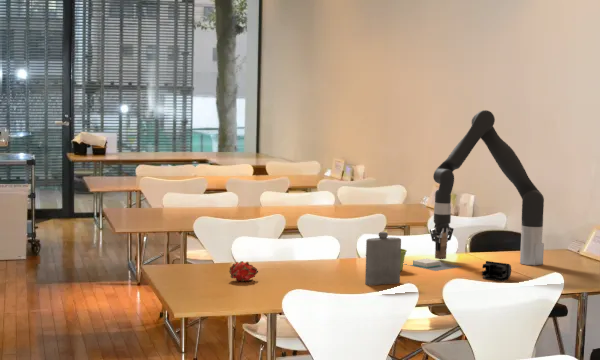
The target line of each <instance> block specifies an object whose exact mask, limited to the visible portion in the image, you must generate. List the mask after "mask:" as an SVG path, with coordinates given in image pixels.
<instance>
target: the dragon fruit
mask: <svg viewBox="0 0 600 360" xmlns="http://www.w3.org/2000/svg"><path fill="white" fill-rule="evenodd" d="M228 272H229V275H230V278H231V279H235V281H236V282H244V281H245V282H246V281H247V282H252V281H254V279H253V278H255V277H256V275H257V274H258V273H259V270H258V269H257V268H256V266H254V265H253V264H250V263H249V261H246V262H244V260H243V261H240V262H239V261H234V263H232V265H231V266H230V267H229V270H228Z"/></svg>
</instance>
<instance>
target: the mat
mask: <svg viewBox="0 0 600 360" xmlns="http://www.w3.org/2000/svg"><path fill="white" fill-rule="evenodd" d="M404 265H407V264H404ZM407 266H408V265H407ZM409 266H410V267H414V268H419V269H425V270H430V271H433V272H439V271H444V270H451V269H458V268H463V265H458V264H457V265H456V264H452V263H448V262H442V261H441V265H440V266H436V267H429V268H425V267H420V266H415V265H409Z"/></svg>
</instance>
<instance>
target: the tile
mask: <svg viewBox="0 0 600 360" xmlns="http://www.w3.org/2000/svg"><path fill="white" fill-rule="evenodd" d="M412 261H413V265H415V266H420V267H425V268H429V267H436V266H440V265H441V262H442V261H440V260H438V259H436V260H435V259H430V258H423V259H414V260H412Z"/></svg>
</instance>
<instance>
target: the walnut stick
mask: <svg viewBox="0 0 600 360" xmlns="http://www.w3.org/2000/svg"><path fill="white" fill-rule="evenodd" d="M437 236H440V235H437ZM446 248H447V249H448V242H447V237H446V232H444V233H443V236H442V238H441V242H440V251H436V249H435V248H434V249H435V251H434V256H435V257H434V259H436V260H446V259H447V249H446Z"/></svg>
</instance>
